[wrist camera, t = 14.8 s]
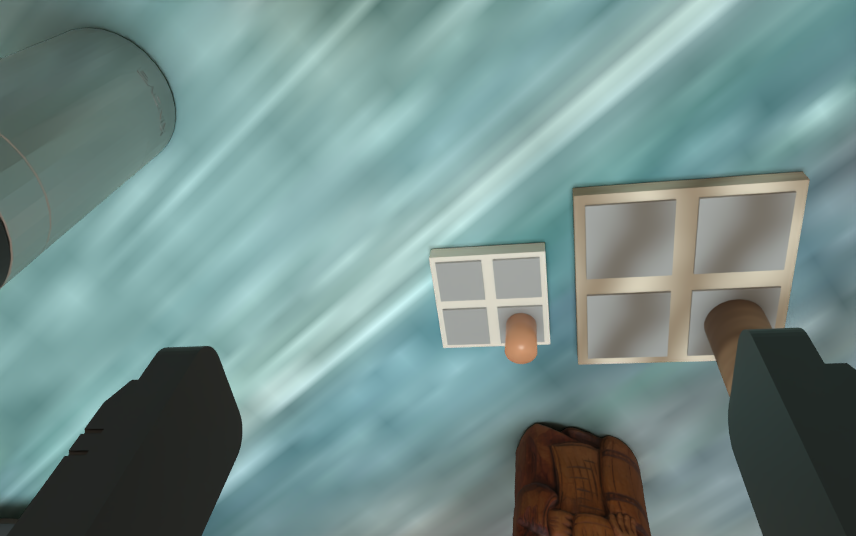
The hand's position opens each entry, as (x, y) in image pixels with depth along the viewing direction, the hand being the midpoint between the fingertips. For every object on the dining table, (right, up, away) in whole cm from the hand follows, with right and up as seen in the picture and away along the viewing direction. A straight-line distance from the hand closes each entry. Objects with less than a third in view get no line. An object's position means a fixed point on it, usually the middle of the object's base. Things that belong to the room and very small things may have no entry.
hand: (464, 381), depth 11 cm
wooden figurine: (+12, -14, +47) cm, 51 cm away
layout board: (+17, +1, +36) cm, 40 cm away
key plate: (+4, 0, +39) cm, 39 cm away
